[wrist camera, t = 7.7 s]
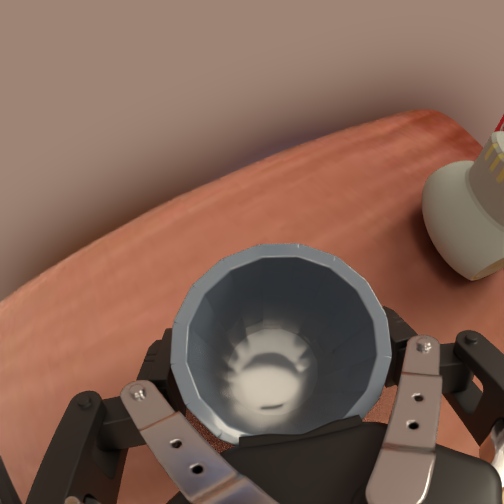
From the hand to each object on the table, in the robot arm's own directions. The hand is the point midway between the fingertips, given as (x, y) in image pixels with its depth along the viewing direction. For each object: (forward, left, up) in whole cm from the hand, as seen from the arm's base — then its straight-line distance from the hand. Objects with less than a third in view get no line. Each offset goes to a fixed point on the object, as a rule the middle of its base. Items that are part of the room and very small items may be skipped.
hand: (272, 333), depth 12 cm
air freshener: (+19, +1, -5) cm, 19 cm away
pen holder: (0, -1, -5) cm, 5 cm away
